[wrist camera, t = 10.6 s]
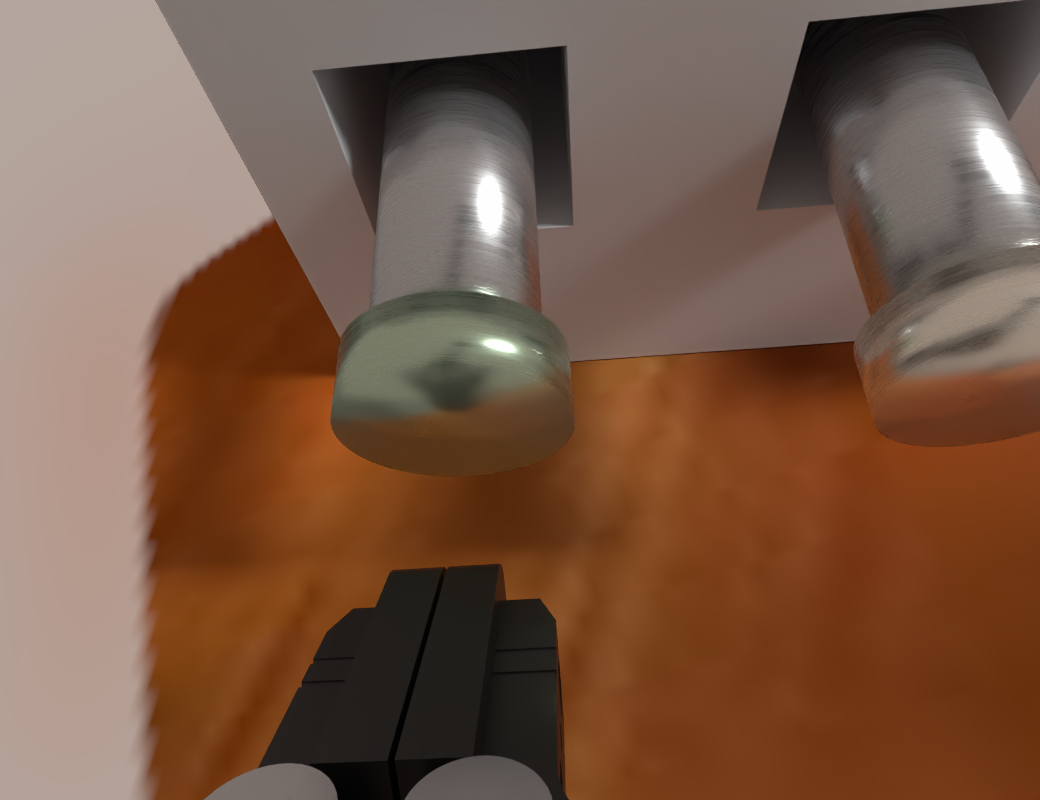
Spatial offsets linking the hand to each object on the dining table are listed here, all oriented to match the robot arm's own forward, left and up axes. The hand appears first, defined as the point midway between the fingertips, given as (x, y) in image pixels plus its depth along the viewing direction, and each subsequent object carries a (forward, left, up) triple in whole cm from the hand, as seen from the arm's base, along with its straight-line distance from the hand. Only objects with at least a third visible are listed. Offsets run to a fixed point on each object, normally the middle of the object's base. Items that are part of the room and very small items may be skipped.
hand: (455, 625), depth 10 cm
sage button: (+7, -3, -1) cm, 7 cm away
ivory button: (+4, -10, -1) cm, 11 cm away
